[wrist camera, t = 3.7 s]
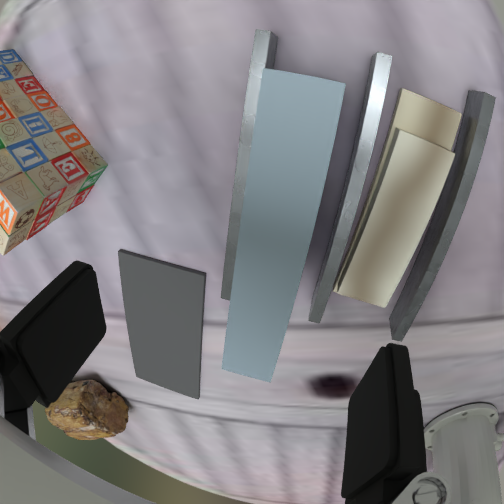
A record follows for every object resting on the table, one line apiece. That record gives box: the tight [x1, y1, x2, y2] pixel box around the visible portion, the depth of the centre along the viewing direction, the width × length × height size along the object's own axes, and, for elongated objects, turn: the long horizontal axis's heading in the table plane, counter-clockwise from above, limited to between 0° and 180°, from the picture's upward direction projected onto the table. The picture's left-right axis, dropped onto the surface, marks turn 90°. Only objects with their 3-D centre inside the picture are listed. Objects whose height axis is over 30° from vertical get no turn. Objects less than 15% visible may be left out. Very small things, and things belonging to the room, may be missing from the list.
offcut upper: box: [337, 127, 455, 308], centre depth 23 cm, size 4×14×2 cm, turn 168°
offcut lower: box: [333, 88, 462, 292], centre depth 24 cm, size 5×18×2 cm, turn 169°
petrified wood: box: [45, 380, 128, 440], centre depth 50 cm, size 19×13×10 cm
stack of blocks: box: [0, 50, 107, 255], centre depth 23 cm, size 21×6×12 cm, turn 43°
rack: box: [221, 30, 496, 342], centre depth 23 cm, size 17×22×3 cm
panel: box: [222, 68, 346, 382], centre depth 20 cm, size 3×16×13 cm, turn 172°
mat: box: [118, 249, 206, 399], centre depth 38 cm, size 10×22×1 cm, turn 172°
